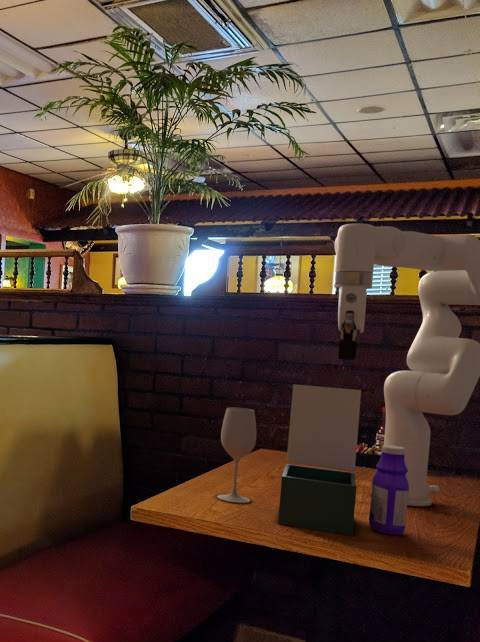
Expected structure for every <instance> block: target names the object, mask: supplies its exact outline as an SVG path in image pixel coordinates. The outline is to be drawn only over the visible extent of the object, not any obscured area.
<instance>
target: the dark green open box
mask: <svg viewBox="0 0 480 642" xmlns="http://www.w3.org/2000/svg"><path fill="white" fill-rule="evenodd" d="M280 481H281V482H280V492H279V493H280V494H279V507H278V521H277V524H278V525H279V524H280V525H283V526H284V525H285V526H291V527H297V528H303V529H310V530H316V531H321V532H327V533H334V534H340V535H346V536H353V533H354V522H355V510H356V498H357V479H356V474H355V472H352V471H344V470H336V469H331V468H329V469H328V468H323V467H315V466H314V467H313V466H305V465H299V464H298V465H297V464H289V463H286V465H285V467H284V470H283V472H282V475H281V480H280Z"/></svg>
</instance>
